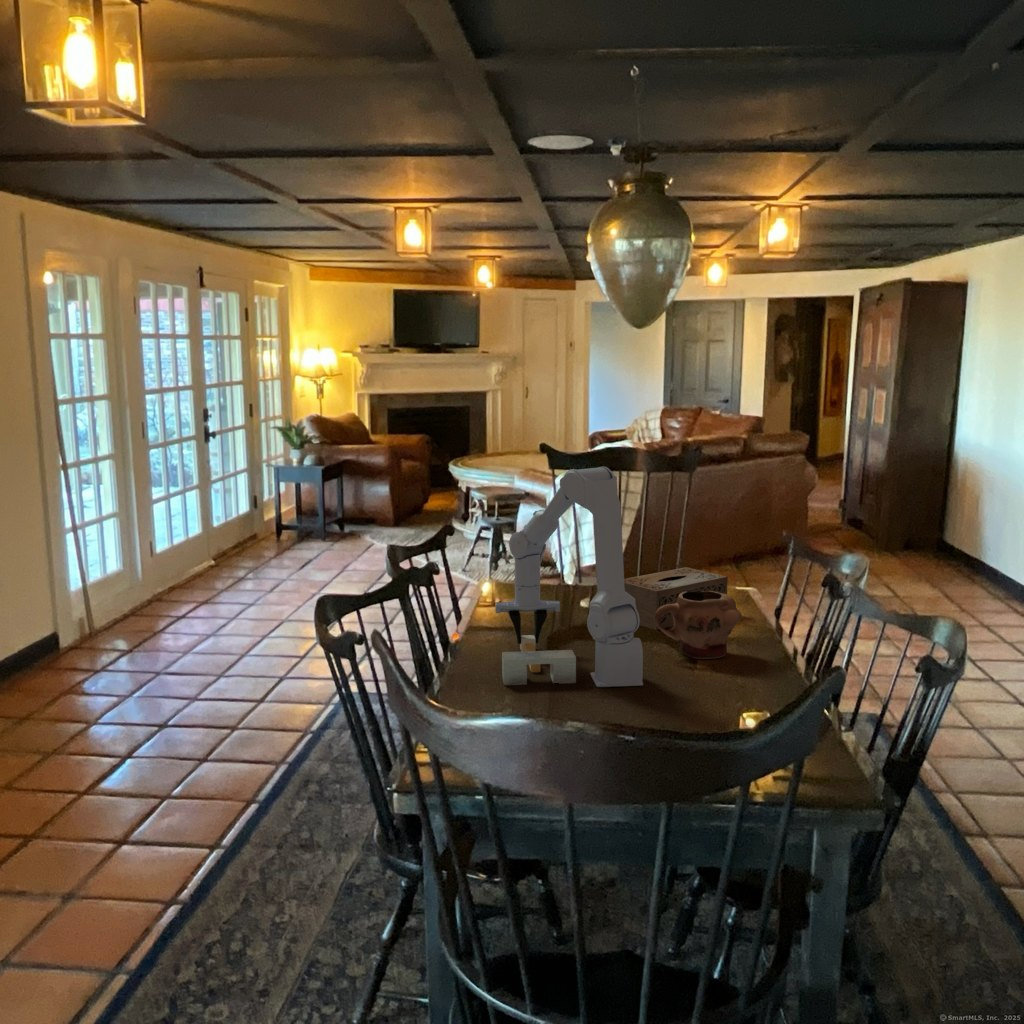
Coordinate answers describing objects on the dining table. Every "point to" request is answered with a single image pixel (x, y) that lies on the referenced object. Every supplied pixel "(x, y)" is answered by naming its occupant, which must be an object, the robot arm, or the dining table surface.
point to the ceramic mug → (701, 622)
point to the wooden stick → (530, 649)
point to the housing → (518, 661)
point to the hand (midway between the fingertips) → (527, 642)
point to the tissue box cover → (669, 591)
